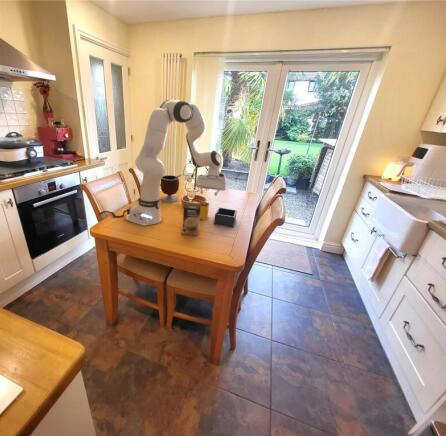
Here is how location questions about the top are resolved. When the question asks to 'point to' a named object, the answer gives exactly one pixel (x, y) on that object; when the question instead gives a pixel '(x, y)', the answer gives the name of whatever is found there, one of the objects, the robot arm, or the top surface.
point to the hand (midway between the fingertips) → (208, 194)
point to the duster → (204, 210)
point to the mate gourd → (169, 187)
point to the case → (225, 217)
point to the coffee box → (191, 219)
